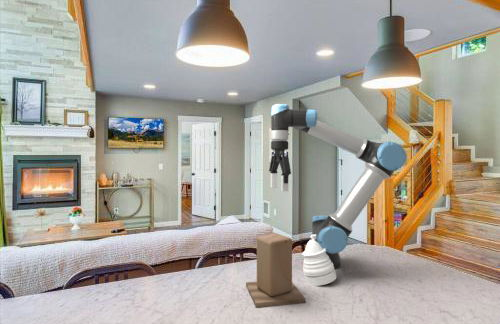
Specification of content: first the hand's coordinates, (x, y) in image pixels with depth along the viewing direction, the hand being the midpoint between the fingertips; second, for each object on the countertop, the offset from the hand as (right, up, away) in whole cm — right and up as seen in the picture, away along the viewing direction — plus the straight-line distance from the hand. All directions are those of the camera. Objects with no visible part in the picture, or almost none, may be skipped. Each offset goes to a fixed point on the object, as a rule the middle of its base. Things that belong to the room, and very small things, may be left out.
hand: (279, 189), depth 140 cm
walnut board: (-4, -38, -19) cm, 42 cm away
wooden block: (-4, -36, -19) cm, 41 cm away
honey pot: (+17, -37, -7) cm, 41 cm away
